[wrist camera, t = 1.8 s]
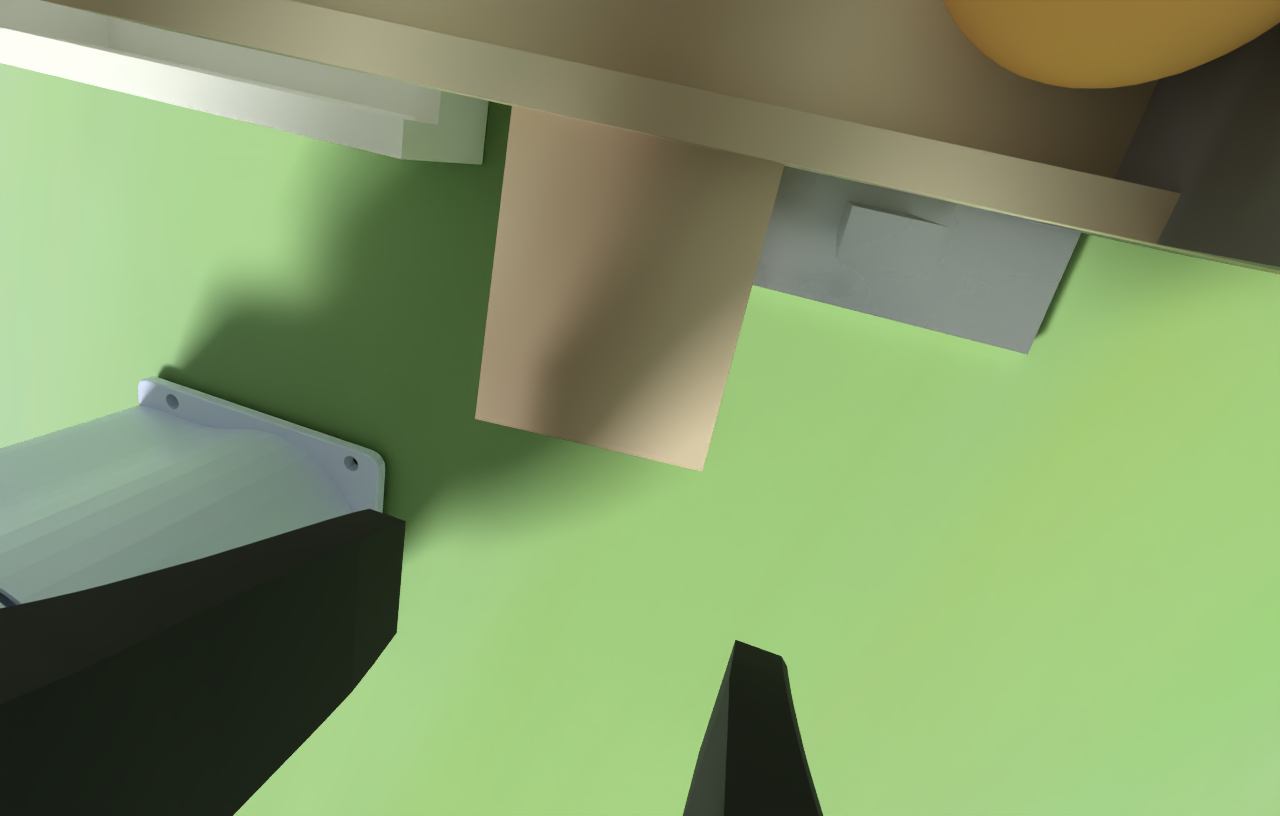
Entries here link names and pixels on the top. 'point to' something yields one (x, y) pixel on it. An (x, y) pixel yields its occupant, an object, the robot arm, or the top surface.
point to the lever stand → (913, 258)
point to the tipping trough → (754, 165)
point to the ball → (1109, 36)
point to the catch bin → (244, 83)
